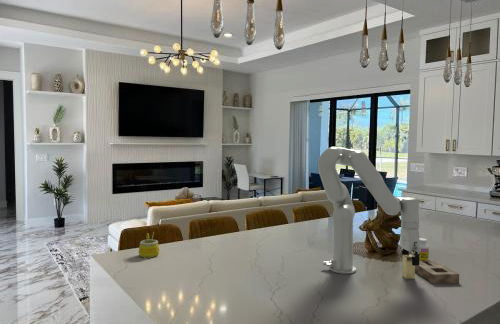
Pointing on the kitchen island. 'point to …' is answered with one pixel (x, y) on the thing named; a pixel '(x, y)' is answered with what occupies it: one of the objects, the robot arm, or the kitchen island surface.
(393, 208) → the robot arm
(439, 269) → the socket block
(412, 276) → the peg
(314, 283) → the kitchen island surface
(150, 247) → the yellow pot
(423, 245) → the supplement bottle
